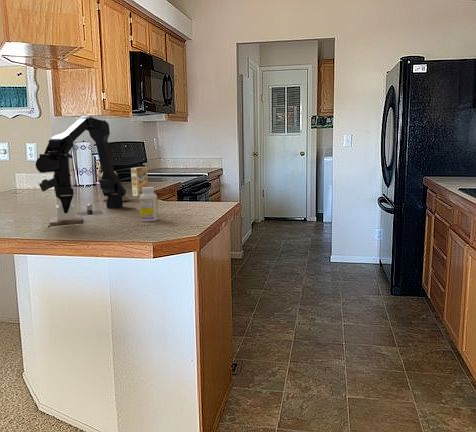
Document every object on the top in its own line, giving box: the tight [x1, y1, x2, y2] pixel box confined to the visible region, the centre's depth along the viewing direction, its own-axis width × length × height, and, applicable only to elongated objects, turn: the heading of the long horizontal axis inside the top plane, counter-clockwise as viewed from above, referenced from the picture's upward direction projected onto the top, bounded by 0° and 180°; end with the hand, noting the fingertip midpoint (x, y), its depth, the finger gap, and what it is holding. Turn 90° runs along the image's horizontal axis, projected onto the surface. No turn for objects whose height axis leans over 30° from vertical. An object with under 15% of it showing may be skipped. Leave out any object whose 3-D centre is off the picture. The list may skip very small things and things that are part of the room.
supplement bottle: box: [139, 186, 159, 223], centre depth 185 cm, size 7×7×13 cm
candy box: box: [130, 166, 149, 197], centre depth 262 cm, size 9×4×15 cm, turn 150°
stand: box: [76, 203, 104, 217], centre depth 200 cm, size 10×10×4 cm
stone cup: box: [97, 170, 129, 202], centre depth 241 cm, size 15×12×15 cm
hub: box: [48, 214, 85, 227], centre depth 184 cm, size 12×12×5 cm
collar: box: [55, 203, 76, 221], centre depth 184 cm, size 6×6×5 cm
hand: (65, 211), depth 184 cm, fingers open, 9 cm apart
